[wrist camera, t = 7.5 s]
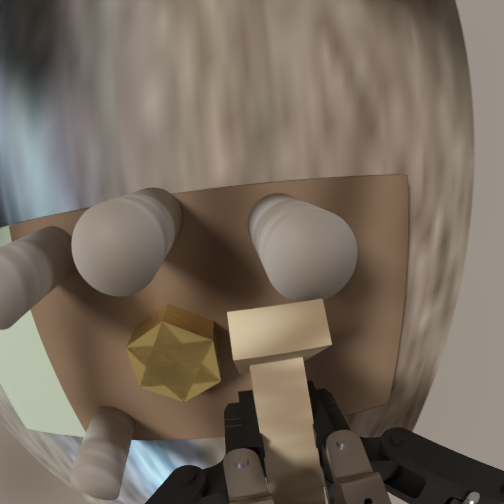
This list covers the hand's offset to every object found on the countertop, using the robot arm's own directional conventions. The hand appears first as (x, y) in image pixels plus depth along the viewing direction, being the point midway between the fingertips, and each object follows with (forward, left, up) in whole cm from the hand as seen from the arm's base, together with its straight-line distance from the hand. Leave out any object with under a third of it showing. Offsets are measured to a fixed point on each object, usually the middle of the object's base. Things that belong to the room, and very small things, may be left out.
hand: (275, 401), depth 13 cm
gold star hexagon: (+1, -5, -4) cm, 6 cm away
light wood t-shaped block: (-3, -2, -1) cm, 4 cm away
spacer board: (0, -3, -5) cm, 6 cm away
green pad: (+8, -15, -5) cm, 18 cm away
